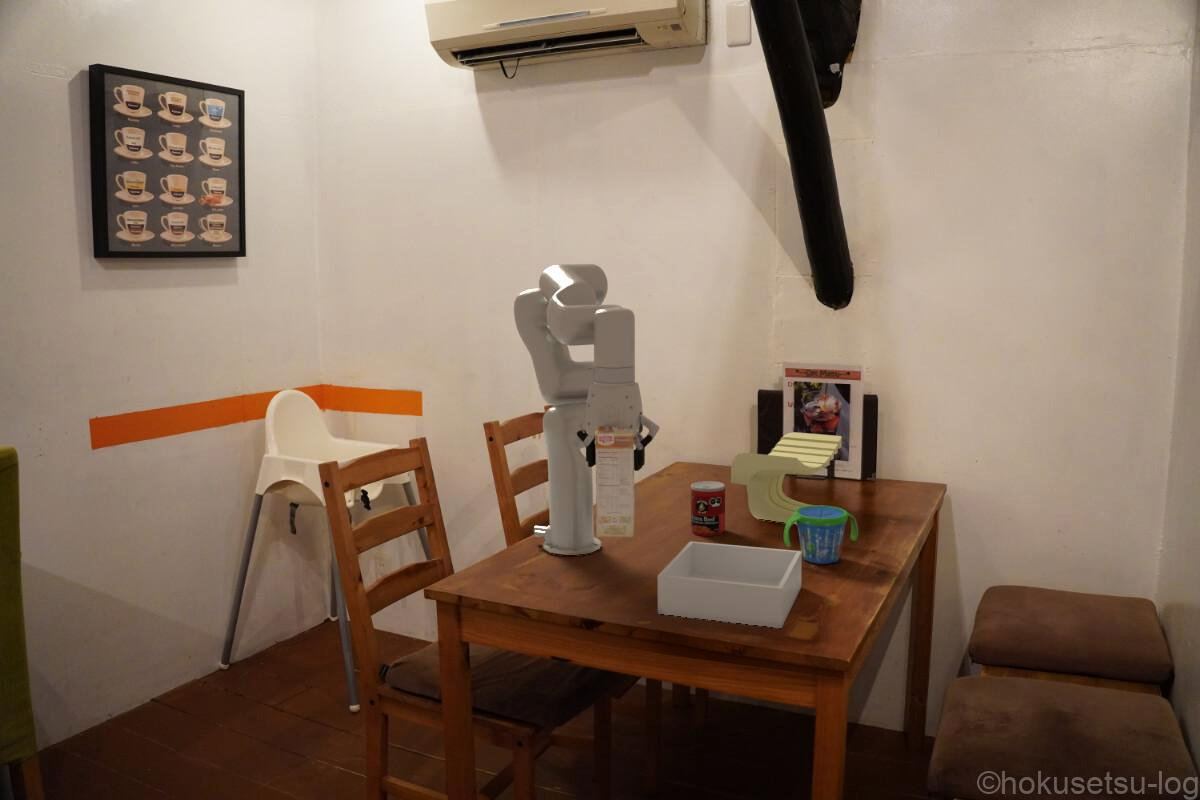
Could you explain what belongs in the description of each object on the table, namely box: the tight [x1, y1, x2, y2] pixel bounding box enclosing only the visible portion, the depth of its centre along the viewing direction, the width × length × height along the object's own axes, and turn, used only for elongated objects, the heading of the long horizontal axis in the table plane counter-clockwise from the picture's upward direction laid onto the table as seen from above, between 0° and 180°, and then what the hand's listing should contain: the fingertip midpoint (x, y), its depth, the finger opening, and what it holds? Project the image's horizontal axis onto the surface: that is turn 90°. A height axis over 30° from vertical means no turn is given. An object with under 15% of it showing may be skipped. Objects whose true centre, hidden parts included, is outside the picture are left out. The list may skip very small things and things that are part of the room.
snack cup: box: [783, 504, 859, 565], centre depth 193 cm, size 16×10×10 cm
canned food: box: [690, 480, 726, 537], centre depth 214 cm, size 8×8×11 cm
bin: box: [657, 540, 803, 629], centre depth 170 cm, size 22×22×7 cm
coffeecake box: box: [595, 427, 635, 538], centre depth 176 cm, size 15×7×20 cm, turn 178°
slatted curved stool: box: [730, 431, 843, 526], centre depth 226 cm, size 30×16×18 cm, turn 147°
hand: (615, 467), depth 176 cm, fingers closed on coffeecake box, 8 cm apart
